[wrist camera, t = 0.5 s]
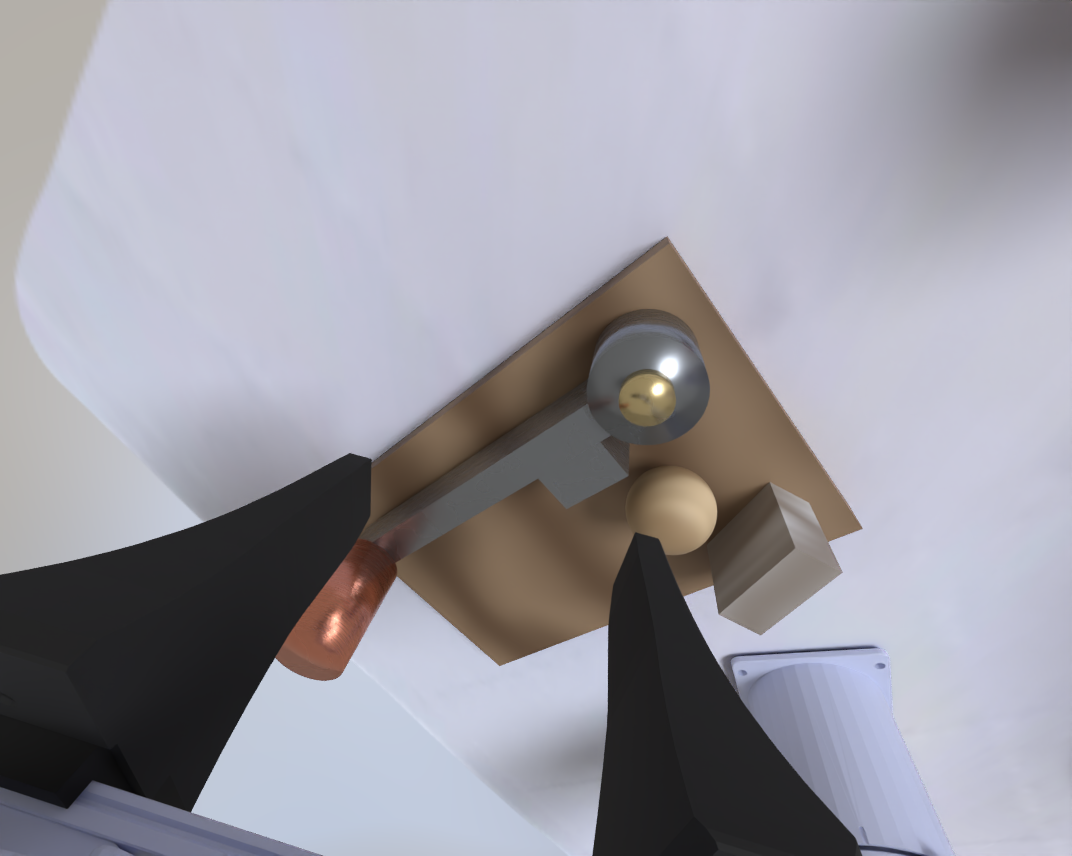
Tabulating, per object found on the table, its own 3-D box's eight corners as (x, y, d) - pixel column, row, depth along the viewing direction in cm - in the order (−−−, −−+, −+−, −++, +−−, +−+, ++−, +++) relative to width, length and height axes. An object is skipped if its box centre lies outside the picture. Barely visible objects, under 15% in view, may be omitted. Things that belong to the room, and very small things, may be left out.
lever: (661, 286, 17) (675, 372, 11) (728, 381, 18) (777, 511, 12) (345, 513, 26) (245, 637, 19) (405, 567, 27) (331, 700, 21)
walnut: (681, 434, 20) (689, 486, 17) (727, 493, 21) (742, 553, 18) (610, 473, 21) (605, 527, 18) (655, 526, 23) (658, 586, 19)
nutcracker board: (667, 236, 18) (677, 268, 13) (849, 506, 22) (906, 602, 18) (334, 491, 28) (272, 561, 23) (505, 645, 32) (482, 730, 27)
